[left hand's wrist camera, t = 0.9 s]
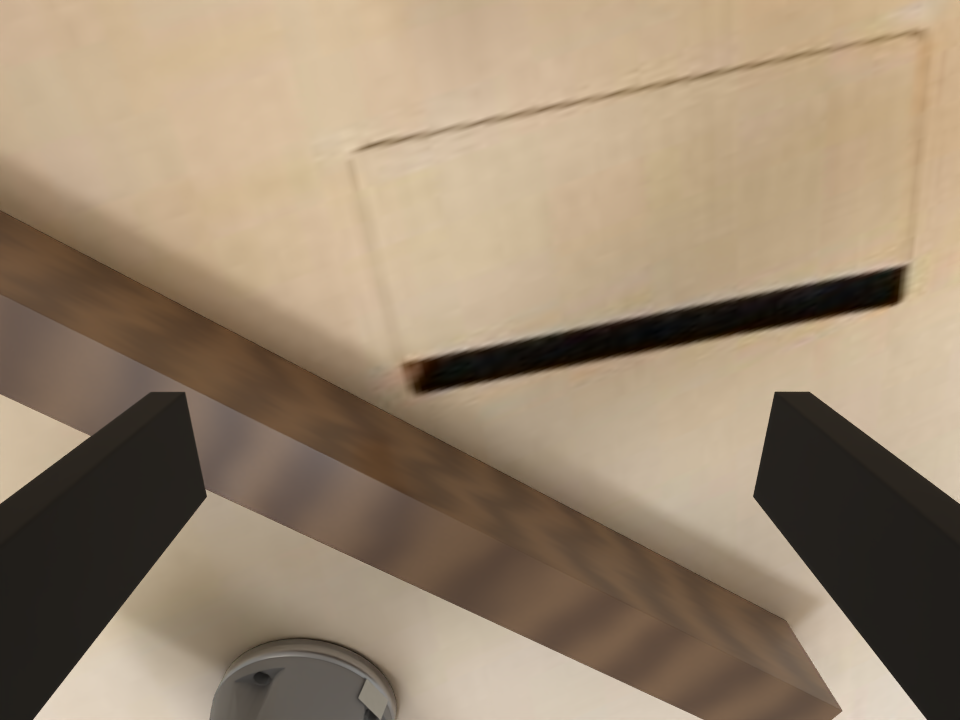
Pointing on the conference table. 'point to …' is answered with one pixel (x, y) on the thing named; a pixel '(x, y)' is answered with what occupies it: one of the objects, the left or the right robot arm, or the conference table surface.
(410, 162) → the conference table surface
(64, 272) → the bar
